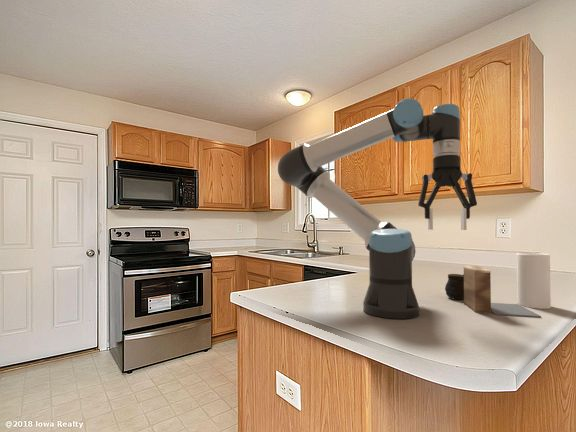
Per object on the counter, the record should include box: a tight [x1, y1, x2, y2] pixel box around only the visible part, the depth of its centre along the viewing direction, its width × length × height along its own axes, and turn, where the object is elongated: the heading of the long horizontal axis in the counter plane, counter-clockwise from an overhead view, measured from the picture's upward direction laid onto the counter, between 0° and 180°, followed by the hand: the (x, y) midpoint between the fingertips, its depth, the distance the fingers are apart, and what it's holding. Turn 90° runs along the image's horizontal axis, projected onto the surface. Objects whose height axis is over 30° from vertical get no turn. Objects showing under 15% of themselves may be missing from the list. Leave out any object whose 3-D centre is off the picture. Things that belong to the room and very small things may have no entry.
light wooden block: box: [463, 265, 492, 314], centre depth 95 cm, size 4×10×12 cm, turn 167°
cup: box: [516, 252, 552, 310], centre depth 98 cm, size 8×8×16 cm
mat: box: [491, 302, 542, 318], centre depth 93 cm, size 11×13×1 cm
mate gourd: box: [444, 273, 464, 301], centre depth 107 cm, size 7×8×10 cm
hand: (446, 229), depth 97 cm, fingers open, 9 cm apart
